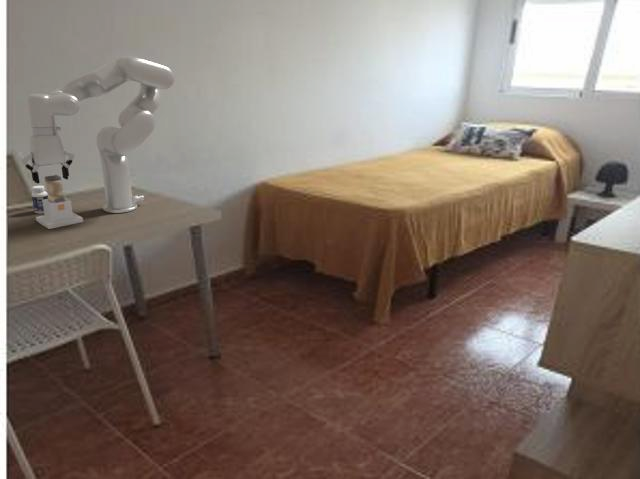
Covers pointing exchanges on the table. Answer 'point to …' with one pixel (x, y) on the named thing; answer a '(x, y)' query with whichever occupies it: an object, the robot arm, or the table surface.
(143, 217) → the table surface
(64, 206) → the white stand
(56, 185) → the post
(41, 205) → the pill bottle
